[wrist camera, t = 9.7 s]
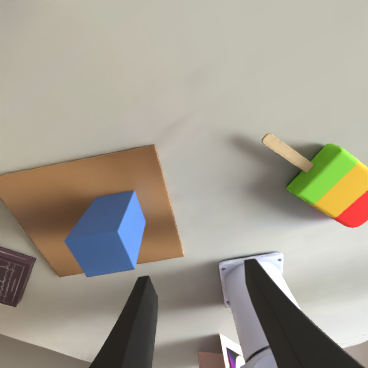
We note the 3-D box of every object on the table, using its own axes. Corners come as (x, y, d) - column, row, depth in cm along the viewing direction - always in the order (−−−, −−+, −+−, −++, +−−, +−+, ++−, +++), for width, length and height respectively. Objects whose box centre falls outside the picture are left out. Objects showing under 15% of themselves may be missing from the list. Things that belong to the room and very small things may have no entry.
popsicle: (341, 222, 22) (355, 233, 20) (240, 160, 18) (247, 167, 16) (384, 185, 20) (403, 194, 18) (282, 106, 16) (294, 108, 14)
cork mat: (184, 254, 23) (184, 256, 23) (60, 275, 24) (59, 277, 23) (155, 144, 17) (154, 145, 16) (-12, 177, 17) (-15, 178, 17)
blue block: (145, 221, 20) (135, 269, 15) (110, 228, 20) (86, 277, 15) (134, 189, 18) (117, 231, 13) (95, 197, 19) (63, 240, 13)
